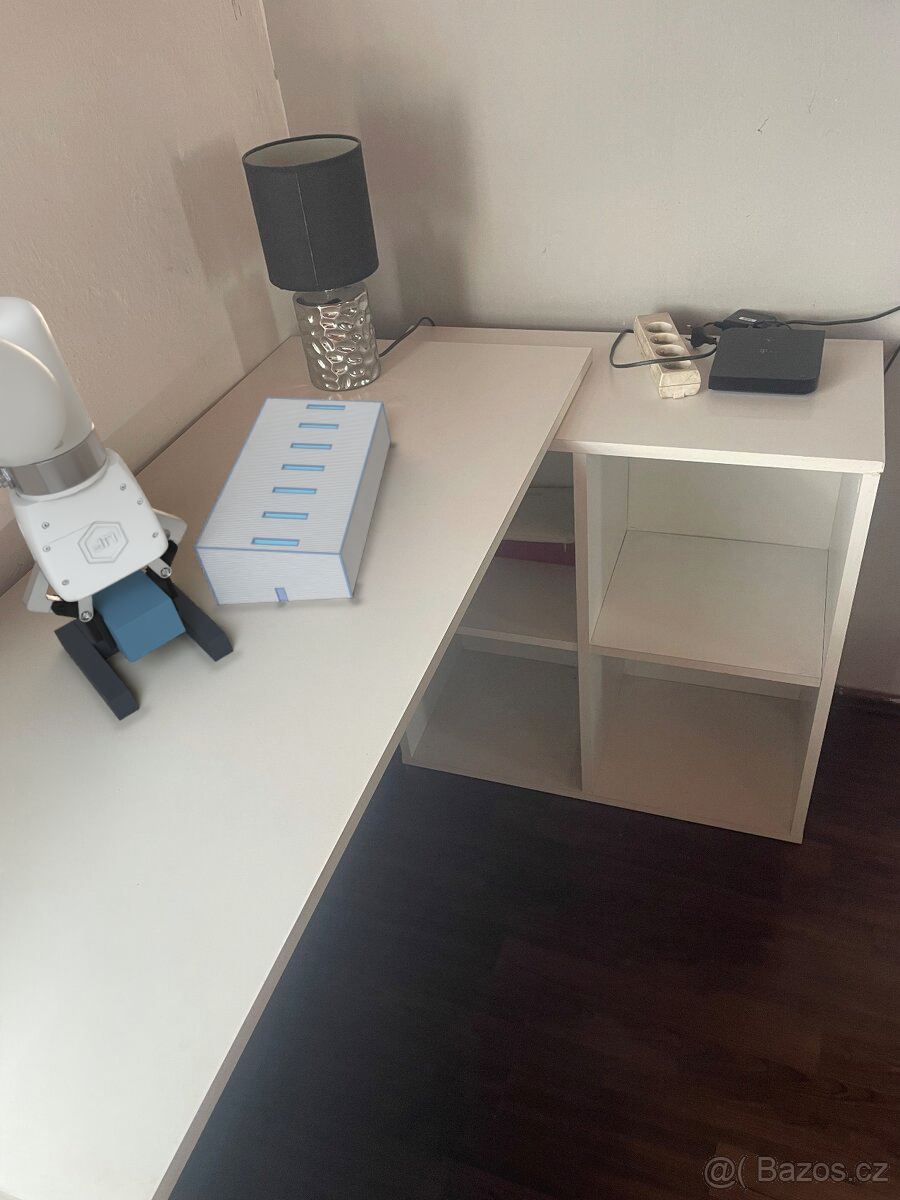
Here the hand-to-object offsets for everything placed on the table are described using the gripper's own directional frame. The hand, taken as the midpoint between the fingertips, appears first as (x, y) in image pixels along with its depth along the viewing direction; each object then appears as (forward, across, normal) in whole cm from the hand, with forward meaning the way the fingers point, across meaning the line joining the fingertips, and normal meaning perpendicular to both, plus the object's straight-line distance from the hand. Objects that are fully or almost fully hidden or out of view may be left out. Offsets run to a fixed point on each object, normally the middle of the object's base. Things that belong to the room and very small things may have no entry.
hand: (138, 622), depth 81 cm
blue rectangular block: (+1, 0, 0) cm, 1 cm away
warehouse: (+5, +24, +8) cm, 26 cm away
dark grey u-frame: (+5, 0, +2) cm, 6 cm away
